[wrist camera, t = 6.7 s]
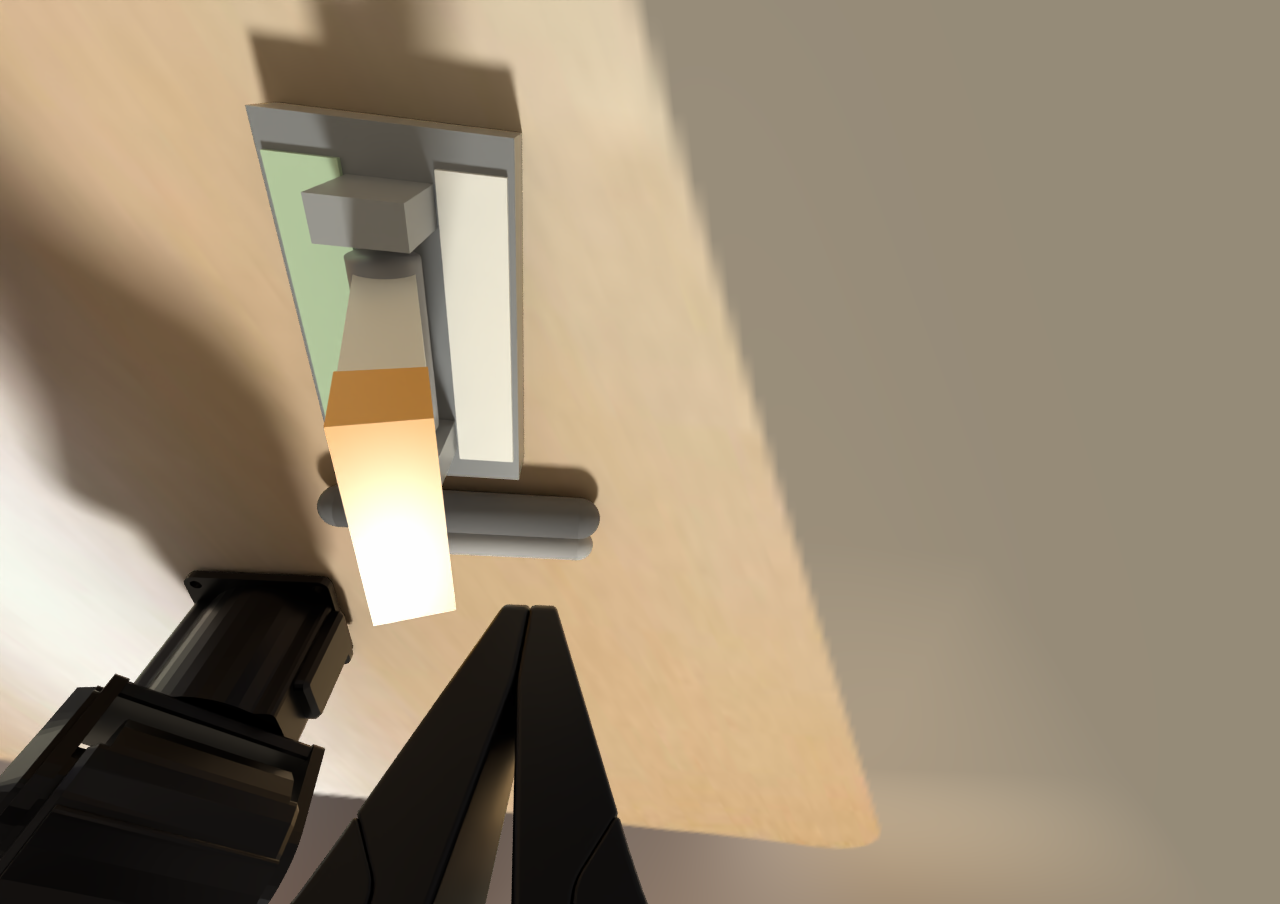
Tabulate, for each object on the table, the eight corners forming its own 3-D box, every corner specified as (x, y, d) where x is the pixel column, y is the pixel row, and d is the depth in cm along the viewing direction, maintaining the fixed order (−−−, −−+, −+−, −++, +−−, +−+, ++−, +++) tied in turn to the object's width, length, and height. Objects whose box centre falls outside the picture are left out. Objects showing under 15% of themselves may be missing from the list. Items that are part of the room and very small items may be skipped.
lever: (376, 412, 19) (368, 634, 12) (346, 246, 16) (309, 415, 9) (437, 407, 20) (463, 615, 13) (419, 247, 17) (441, 405, 9)
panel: (351, 445, 23) (302, 517, 19) (275, 102, 16) (176, 111, 12) (524, 456, 23) (508, 527, 20) (521, 132, 17) (497, 150, 13)
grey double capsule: (339, 533, 25) (322, 561, 24) (324, 474, 23) (304, 501, 22) (596, 545, 26) (595, 573, 25) (601, 490, 25) (600, 517, 23)
